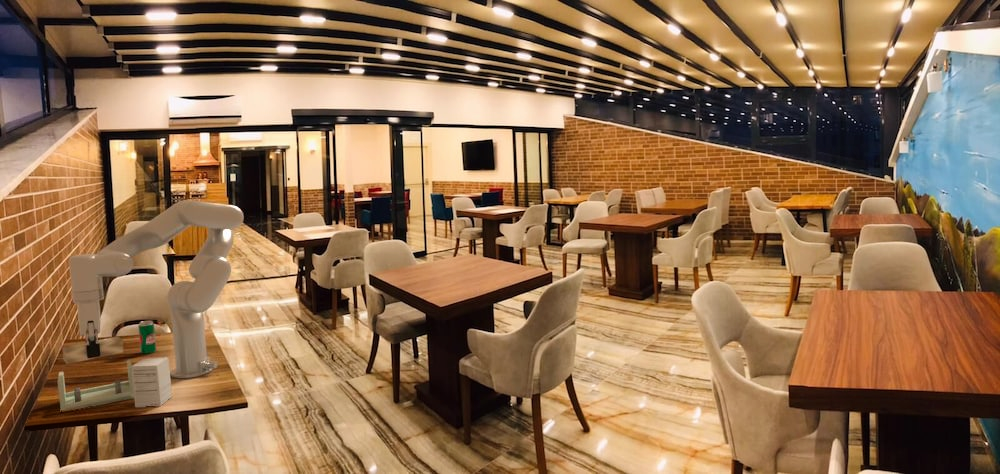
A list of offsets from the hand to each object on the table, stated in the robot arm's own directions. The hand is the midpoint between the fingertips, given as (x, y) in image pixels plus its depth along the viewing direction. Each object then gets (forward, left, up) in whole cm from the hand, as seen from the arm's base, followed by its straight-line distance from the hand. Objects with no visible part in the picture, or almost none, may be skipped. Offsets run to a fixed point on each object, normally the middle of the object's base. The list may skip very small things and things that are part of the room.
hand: (93, 353), depth 169 cm
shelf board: (0, 0, -1) cm, 1 cm away
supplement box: (-19, +2, -14) cm, 24 cm away
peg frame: (0, 0, -14) cm, 14 cm away
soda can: (+16, -44, -14) cm, 49 cm away
